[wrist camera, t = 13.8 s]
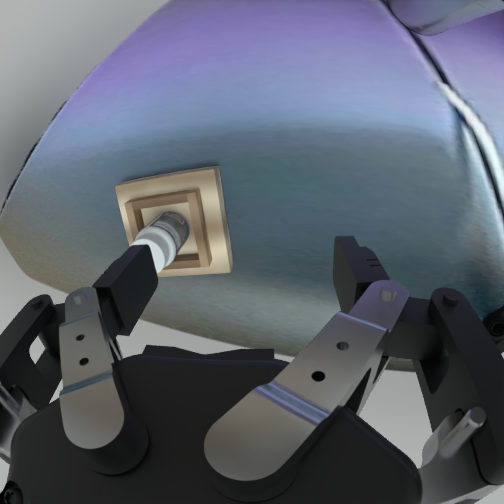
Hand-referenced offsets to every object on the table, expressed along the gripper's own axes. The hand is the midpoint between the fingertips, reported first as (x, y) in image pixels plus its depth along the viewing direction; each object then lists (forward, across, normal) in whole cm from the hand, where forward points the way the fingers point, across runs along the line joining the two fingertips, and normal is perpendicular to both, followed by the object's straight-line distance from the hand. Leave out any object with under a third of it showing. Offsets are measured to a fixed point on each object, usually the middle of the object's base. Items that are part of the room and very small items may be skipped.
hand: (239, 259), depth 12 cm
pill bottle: (+21, +11, +7) cm, 25 cm away
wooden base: (+24, +12, +7) cm, 27 cm away
